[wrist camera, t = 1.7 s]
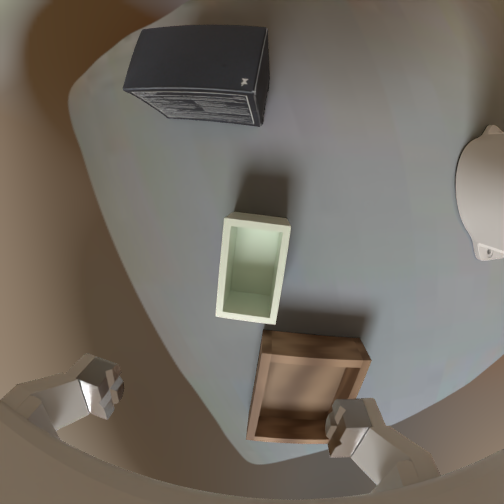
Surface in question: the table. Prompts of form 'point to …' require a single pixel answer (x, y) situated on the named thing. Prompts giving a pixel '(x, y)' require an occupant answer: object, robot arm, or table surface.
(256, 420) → the walnut crate
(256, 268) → the sage crate
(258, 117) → the small box
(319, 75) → the table surface
